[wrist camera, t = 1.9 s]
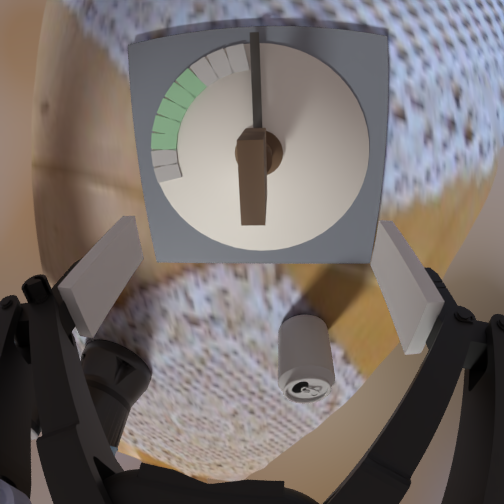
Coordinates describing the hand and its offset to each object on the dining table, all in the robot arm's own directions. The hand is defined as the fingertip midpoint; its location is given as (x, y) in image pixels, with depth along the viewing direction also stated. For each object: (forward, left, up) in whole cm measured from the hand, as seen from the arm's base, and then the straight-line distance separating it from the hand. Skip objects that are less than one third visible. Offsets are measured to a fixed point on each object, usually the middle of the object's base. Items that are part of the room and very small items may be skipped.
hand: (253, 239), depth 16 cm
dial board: (-1, +1, -20) cm, 20 cm away
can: (+5, -26, -20) cm, 33 cm away
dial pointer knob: (-1, +6, -18) cm, 19 cm away
